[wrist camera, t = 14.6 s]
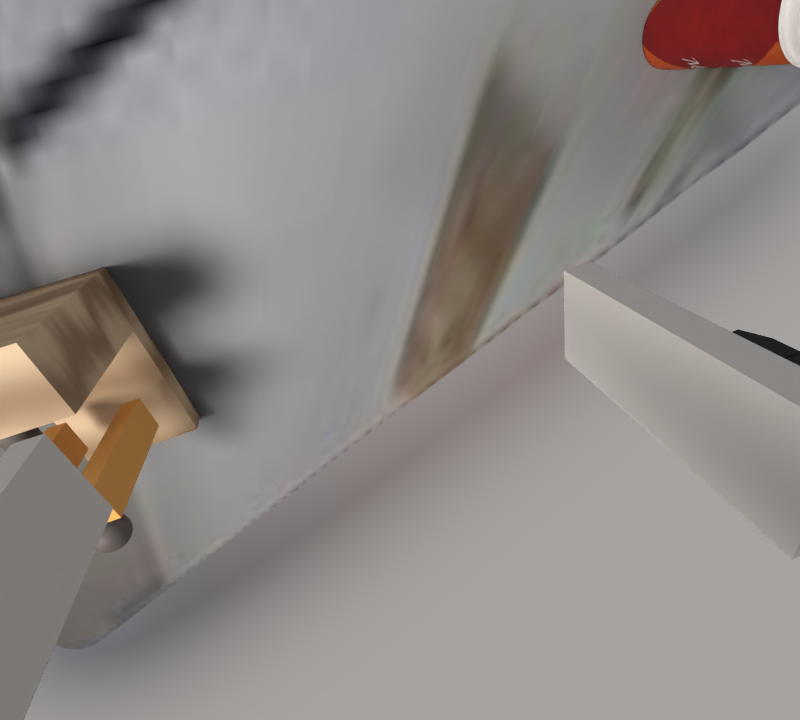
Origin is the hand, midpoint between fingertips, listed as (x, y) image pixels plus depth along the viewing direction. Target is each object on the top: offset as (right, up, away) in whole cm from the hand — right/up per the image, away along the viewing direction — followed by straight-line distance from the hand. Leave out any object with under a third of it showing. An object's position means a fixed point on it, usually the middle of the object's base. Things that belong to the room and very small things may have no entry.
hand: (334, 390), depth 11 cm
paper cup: (+25, +29, +26) cm, 46 cm away
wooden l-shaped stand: (-25, 0, +27) cm, 37 cm away
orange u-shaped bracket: (-23, -5, +25) cm, 34 cm away
